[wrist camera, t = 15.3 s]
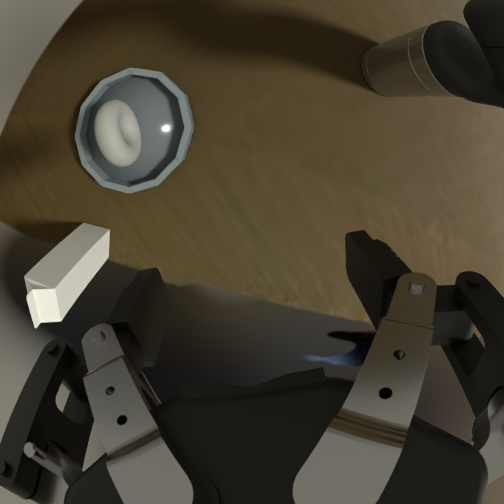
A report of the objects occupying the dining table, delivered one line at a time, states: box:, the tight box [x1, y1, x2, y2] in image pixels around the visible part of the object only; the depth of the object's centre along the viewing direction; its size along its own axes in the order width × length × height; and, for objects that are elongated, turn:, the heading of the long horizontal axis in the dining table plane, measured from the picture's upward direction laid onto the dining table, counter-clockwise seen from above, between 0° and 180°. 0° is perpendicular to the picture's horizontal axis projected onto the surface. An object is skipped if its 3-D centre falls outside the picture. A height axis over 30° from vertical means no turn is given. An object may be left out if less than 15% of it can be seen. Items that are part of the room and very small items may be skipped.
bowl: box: [75, 68, 194, 194], centre depth 35 cm, size 19×19×3 cm
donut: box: [94, 99, 141, 167], centre depth 31 cm, size 10×3×10 cm, turn 12°
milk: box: [24, 223, 110, 328], centre depth 35 cm, size 6×6×22 cm
